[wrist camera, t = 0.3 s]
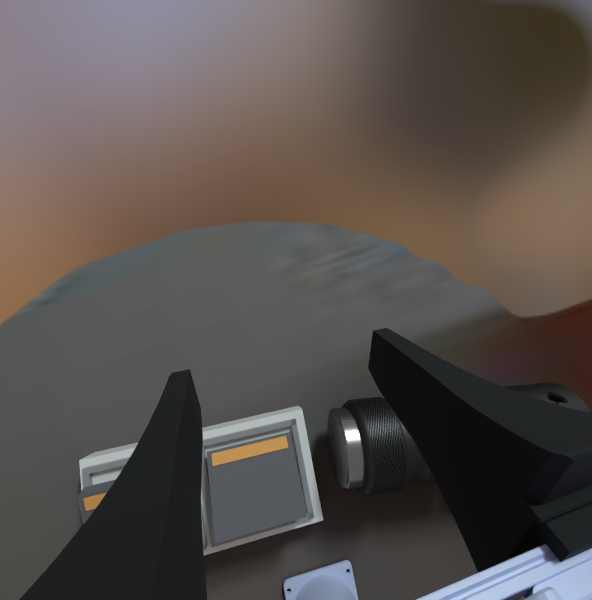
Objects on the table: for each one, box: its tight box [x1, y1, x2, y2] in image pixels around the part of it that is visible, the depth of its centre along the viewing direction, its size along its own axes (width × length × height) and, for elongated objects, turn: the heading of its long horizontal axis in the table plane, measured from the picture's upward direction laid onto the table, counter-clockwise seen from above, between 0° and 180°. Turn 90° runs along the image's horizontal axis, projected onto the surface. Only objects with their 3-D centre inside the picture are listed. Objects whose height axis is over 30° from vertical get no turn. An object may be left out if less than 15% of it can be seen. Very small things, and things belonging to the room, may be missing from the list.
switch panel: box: [79, 406, 323, 555], centre depth 35 cm, size 12×24×4 cm, turn 101°
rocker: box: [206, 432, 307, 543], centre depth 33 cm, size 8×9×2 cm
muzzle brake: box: [328, 383, 591, 495], centre depth 37 cm, size 10×28×10 cm, turn 95°
